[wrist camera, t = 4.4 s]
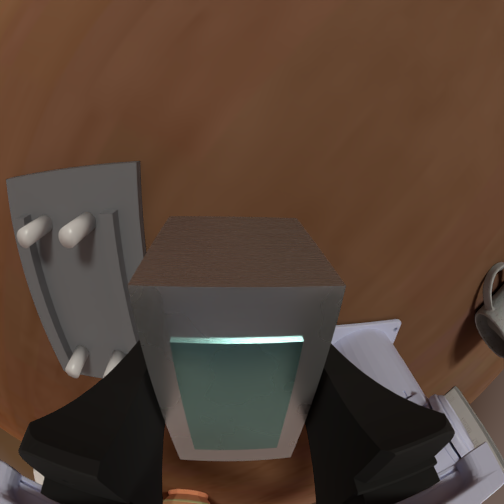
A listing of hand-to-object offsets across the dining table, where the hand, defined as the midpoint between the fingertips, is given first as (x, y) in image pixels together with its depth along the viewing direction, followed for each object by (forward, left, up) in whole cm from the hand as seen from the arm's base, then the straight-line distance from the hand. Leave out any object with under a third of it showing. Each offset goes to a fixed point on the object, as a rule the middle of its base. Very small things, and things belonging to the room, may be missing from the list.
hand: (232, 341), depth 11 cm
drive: (0, 0, -2) cm, 2 cm away
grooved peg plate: (-4, +12, -9) cm, 16 cm away
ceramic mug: (-6, -32, -10) cm, 34 cm away
